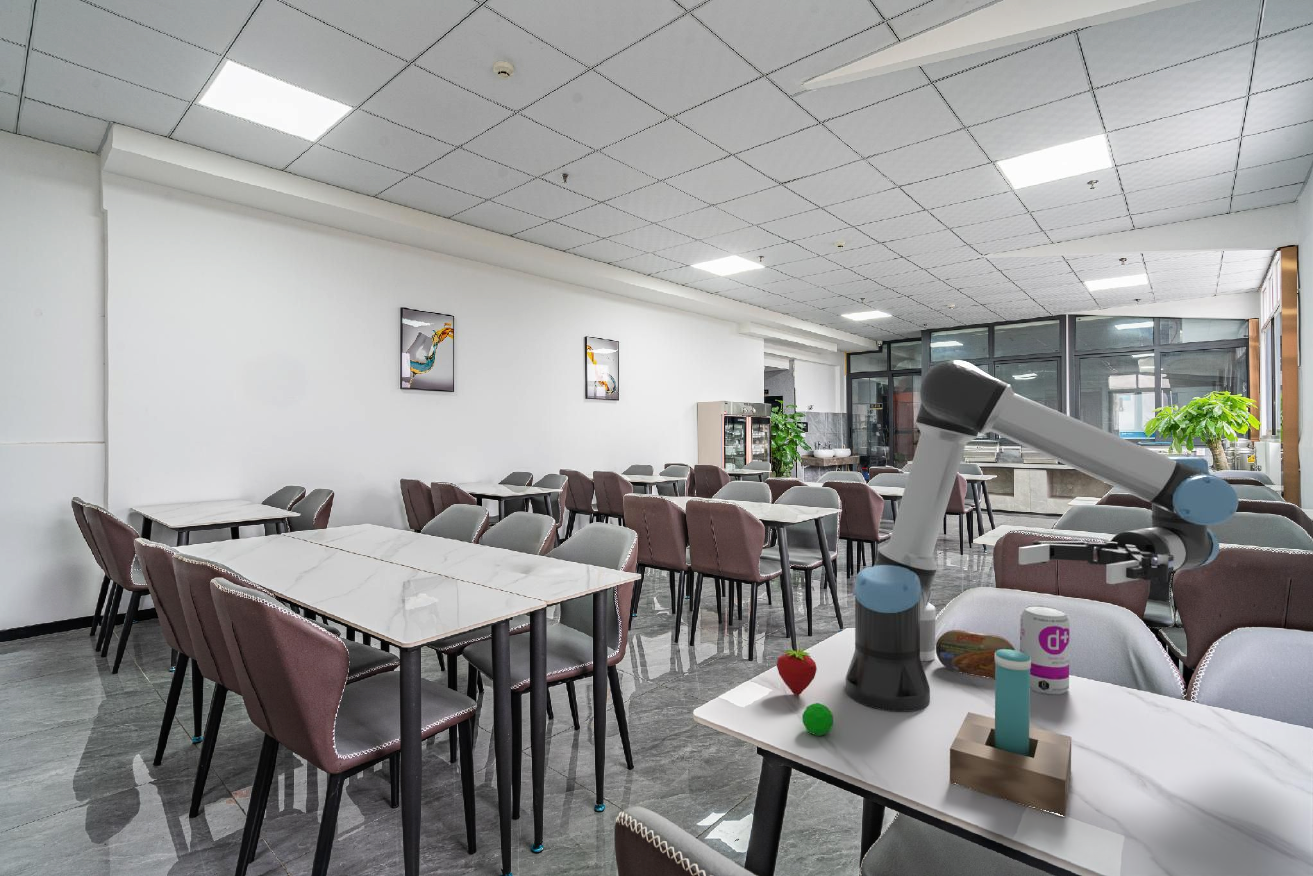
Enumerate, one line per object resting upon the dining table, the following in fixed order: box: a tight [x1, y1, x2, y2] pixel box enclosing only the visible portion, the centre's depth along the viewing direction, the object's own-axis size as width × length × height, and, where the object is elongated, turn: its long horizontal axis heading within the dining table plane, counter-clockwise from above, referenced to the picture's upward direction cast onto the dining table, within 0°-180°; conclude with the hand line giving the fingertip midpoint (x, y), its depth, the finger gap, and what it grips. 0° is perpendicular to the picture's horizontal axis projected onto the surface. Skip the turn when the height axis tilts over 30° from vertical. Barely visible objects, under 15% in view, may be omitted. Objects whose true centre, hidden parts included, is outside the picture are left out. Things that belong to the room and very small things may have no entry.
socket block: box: [949, 711, 1072, 817], centre depth 93 cm, size 14×14×5 cm
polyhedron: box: [802, 702, 834, 736], centre depth 106 cm, size 5×5×5 cm
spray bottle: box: [920, 600, 937, 662], centre depth 141 cm, size 7×7×18 cm
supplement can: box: [1019, 605, 1071, 695], centre depth 124 cm, size 8×8×15 cm
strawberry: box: [776, 641, 818, 696], centre depth 121 cm, size 6×8×10 cm
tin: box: [935, 629, 1016, 680], centre depth 131 cm, size 15×3×8 cm, turn 58°
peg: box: [994, 649, 1031, 757], centre depth 93 cm, size 5×5×18 cm
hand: (1061, 564), depth 98 cm, fingers open, 13 cm apart
